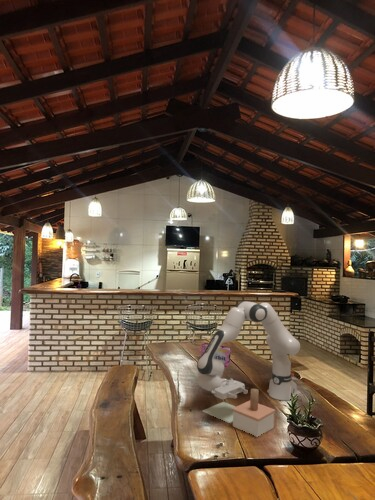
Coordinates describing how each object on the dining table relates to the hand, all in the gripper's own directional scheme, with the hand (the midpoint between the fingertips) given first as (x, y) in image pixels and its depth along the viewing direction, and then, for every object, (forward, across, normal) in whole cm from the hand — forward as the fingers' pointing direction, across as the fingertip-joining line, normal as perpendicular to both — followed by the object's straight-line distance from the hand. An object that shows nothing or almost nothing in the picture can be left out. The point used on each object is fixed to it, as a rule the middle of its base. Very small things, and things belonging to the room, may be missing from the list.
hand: (241, 394), depth 201 cm
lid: (+8, 0, +8) cm, 11 cm away
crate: (+8, 0, +14) cm, 16 cm away
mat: (-12, +3, +14) cm, 19 cm away
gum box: (-74, +68, +15) cm, 102 cm away
